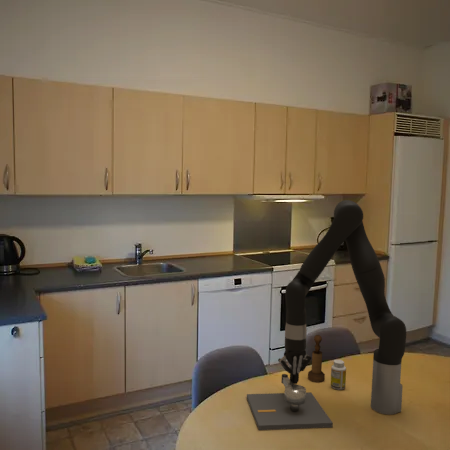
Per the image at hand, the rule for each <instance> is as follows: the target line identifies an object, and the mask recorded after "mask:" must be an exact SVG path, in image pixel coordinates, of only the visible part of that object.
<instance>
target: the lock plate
mask: <svg viewBox="0 0 450 450" xmlns="http://www.w3.org/2000/svg"><path fill="white" fill-rule="evenodd" d="M284 397H285V392H281V393H280V392H279V393H278V392H277V393H276V392H275V393H247V394H246V400H247V402H248V406H249V408H250V410H251V413H252V416H253V419H254V421H255V424H256V427H257V429H258V431H271V430H272V431H274V430H298V429H301V430H302V429H303V430H304V429H323V428H324V429H326V428H333V424H334V422H333V421H332V420H331V418H330V417H329V415H328V414H327V413H326V411H325V409H324V408H323V407H322V405H321V404H320V403H319V401H318V400H317V398H316V396H314V393H312V392H310V391H308V392H307V391H306V402H305V403H304V404H302V405H299V411H297V412H294V411H291V410H290V404H289V403H287V402H286V401H285V400H284Z"/></svg>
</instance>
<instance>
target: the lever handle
mask: <svg viewBox="0 0 450 450" xmlns="http://www.w3.org/2000/svg"><path fill="white" fill-rule="evenodd" d="M281 384H282V385H283V386H284V393H285V397H284V400H285V401H286V402H287V403H289V404H290V410H291V411H294V412H297V411H299V405H302V404H304V403H305V402H306V392H307V388H306V387H305V386H304V385H301V384H298V383H297V384H293V383H292V382H291V380H290V377H289V375H288V374H286V373H282V374H281Z"/></svg>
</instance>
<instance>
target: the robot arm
mask: <svg viewBox="0 0 450 450" xmlns="http://www.w3.org/2000/svg"><path fill="white" fill-rule="evenodd" d="M333 217H334V218H333V220H332V223H331V225H330V227H329V228H328V230H327V231H326V233H325V235H324V236H323V237H322V238H321V240H320V241H318V243H317V244H315V246H314V248H312V250H311V251H310V252H309V253H308V255H307V256H306V258H305V260H304V261H303V262H302V264H301V266H300V268H299V271H298V272H297V273H296V275H295V276H294V277H293V278H292V280H291V281H290V282H289V283H288V284H287V285H286V287H285V293H284V296H285V307H286V315H285V317H286V318H285V328H284V331H285V332H284V353H283V356H282V357H281V358H280V357H279V358H277V360H278V363H279V364H280V366H282V369H284V371H285V372H287V373H288V374H289V379H290V380H291V382H292V383H293V384H297V385H298V383H299V381H300V373H301V372H304V371H305V369H306V368H307V367H308V365H309V363H310V362H311V361H312V356H310V355H309V354H308V353H307V352H306V349H307V329H308V328H307V309H306V296H307V295H308V293H309V292H310V290H311V288H312V286H313V285H314V283H315V282H316V280H317V279H318V278H319V277H320V276H321V274H322V273H323V272H324V270H325V268H326V267H327V266H328V264H329V263H330V261H331V259H332V258H333V257H334V255H335V254H336V253H337V251H338V249H339V248H340V247H341V245H342V244H344V242H345V243H346V247H347V252H348V257H349V258H348V259H349V262H350V265H351V268H352V271H353V274H354V277H355V280H356V283H357V285H358V287H359V290H360V294H361V296H362V298H363V301H364V303H365V307H366V309H367V315H368V317H369V322H370V326H371V329H372V330H371V331H372V332H373V333H374V335H375V336H377V338H378V339H379V342H378V348H376V349H375V350H374V351H373V354H372V355H373V356H372V375H371V377H372V379H371V393H370V408H371V409H372V410H373V411H374V412H376V413H379V414H382V415H389V416H390V415H396V414H398V413H401V412H402V405H403V404H402V403H403V387H404V386H403V384H402V383H401V375H402V360H403V357H404V355H405V352H406V351H405V350H406V344H407V343H406V342H407V327H406V323H405V322H404V321H403V320H402V319H400V318H399V317H397V316H396V315H394V314H393V312H392V311H391V309H390V307H389V305H388V302H387V298H386V295H385V294H386V293H385V292H386V291H385V288H386V280H385V279H386V278H385V274H384V271H383V268H382V265H381V262H380V260H379V258H378V255H377V253H376V251H375V249H374V248H373V246H372V244H371V242H370V240H369V238H368V235H367V233H366V230H365V225H364V221H363V220H364V211H363V209H362V208H361V206H360V205H359V204H358V203H357V202H355V201H353V200H350V199H345V200H344V199H343V200H341V201H340V202H338V203H337V204H336V206H335V208H334V210H333Z"/></svg>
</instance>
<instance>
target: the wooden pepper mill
mask: <svg viewBox="0 0 450 450" xmlns="http://www.w3.org/2000/svg"><path fill="white" fill-rule="evenodd" d="M313 340H314V342H315V345H314V350H312V354H311V355H312V356H311V369H310V370H309V371H308V372H307V379H308V380H309V381H310V382H313V383H323V382H324V381H325V377H326V376H325V375H326V374H325V373H324V372H323V371H322V365H323V351H322V350H321V346H320V344H321V342H322V341H323V338H322V336H321V335H320V334H316V335H314V337H313Z"/></svg>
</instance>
